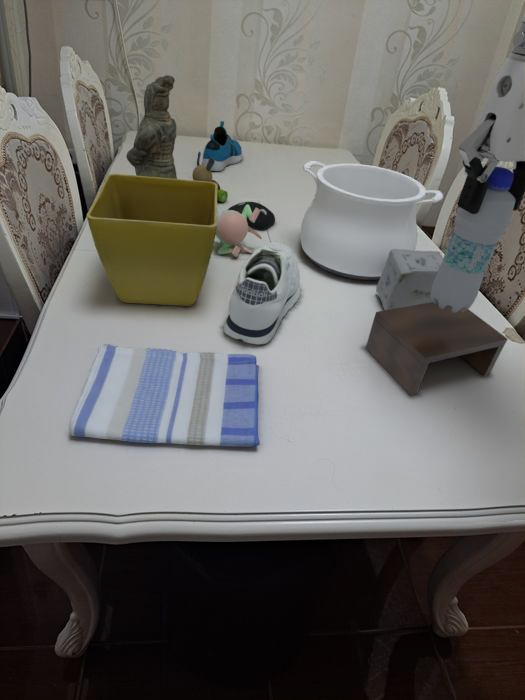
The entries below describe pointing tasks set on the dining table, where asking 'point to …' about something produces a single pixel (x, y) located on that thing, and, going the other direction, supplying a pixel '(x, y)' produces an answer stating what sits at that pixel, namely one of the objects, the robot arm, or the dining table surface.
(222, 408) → the dish towel
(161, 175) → the statue
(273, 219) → the computer mouse
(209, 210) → the flower pot
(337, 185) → the pot
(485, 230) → the bottle
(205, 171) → the tan rounded piece
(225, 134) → the shoe
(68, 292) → the dining table surface
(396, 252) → the white printed box
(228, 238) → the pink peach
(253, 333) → the running shoe
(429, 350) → the shelf
